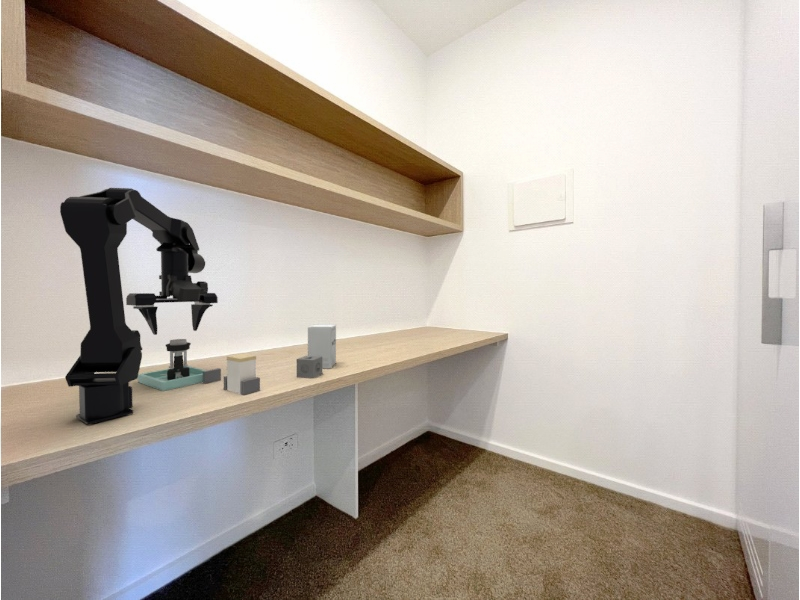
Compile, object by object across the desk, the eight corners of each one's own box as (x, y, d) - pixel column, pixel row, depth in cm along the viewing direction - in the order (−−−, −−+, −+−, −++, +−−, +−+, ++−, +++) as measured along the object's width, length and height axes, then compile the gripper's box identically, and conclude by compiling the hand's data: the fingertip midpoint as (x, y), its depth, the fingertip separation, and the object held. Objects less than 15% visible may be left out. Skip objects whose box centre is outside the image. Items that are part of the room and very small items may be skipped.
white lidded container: (239, 394, 74) (239, 358, 74) (226, 390, 76) (226, 356, 76) (256, 389, 77) (256, 355, 77) (243, 386, 80) (243, 353, 80)
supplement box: (331, 368, 98) (331, 326, 98) (306, 368, 98) (306, 326, 98) (336, 363, 105) (336, 324, 105) (313, 363, 105) (313, 324, 105)
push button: (158, 383, 80) (157, 342, 80) (160, 378, 84) (160, 339, 84) (190, 379, 83) (190, 340, 83) (191, 375, 88) (190, 338, 88)
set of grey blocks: (243, 395, 73) (243, 381, 73) (202, 383, 82) (202, 371, 82) (259, 390, 76) (259, 377, 76) (218, 379, 86) (218, 368, 85)
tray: (163, 391, 76) (162, 382, 76) (137, 382, 83) (137, 374, 83) (213, 379, 86) (213, 372, 85) (187, 372, 93) (187, 365, 93)
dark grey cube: (296, 377, 89) (296, 358, 88) (306, 372, 93) (306, 355, 93) (313, 378, 87) (313, 360, 87) (322, 374, 92) (322, 356, 92)
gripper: (145, 268, 71) (146, 340, 72) (228, 272, 87) (229, 331, 88) (124, 269, 77) (126, 335, 78) (206, 273, 93) (207, 328, 94)
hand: (176, 332), depth 84 cm, fingers open, 9 cm apart
